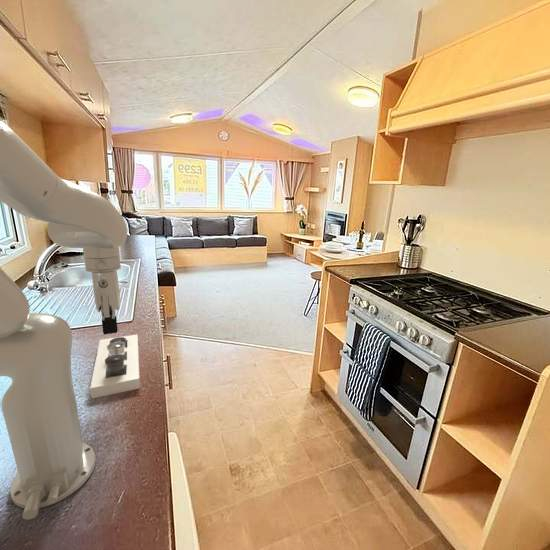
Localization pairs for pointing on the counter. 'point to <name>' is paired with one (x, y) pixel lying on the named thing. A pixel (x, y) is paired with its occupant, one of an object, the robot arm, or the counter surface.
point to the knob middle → (116, 348)
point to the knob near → (115, 364)
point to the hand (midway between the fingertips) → (110, 332)
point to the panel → (113, 385)
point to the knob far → (119, 340)
